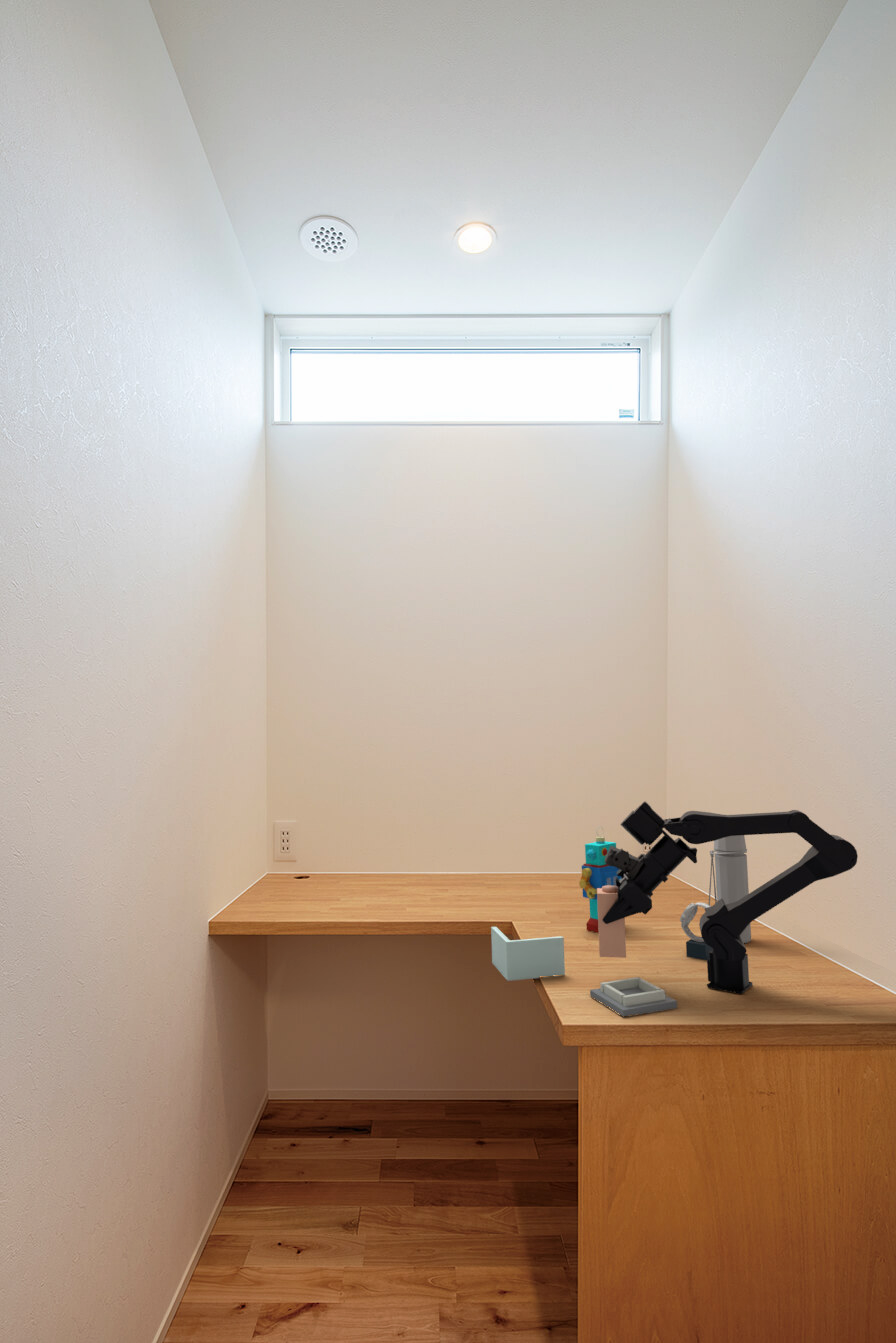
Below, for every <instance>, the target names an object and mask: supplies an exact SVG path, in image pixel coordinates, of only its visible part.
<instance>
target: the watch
mask: <svg viewBox="0 0 896 1343" xmlns="http://www.w3.org/2000/svg"><path fill="white" fill-rule="evenodd" d="M711 906H712V905H711V904H710V905H708V903H705V902H701V901H700V902H695V903H694V902H691V903H689V904H688V905H687V907H686V908H684V910H683V912H682V913H681V916H680V918H679V921H680V927H681V928H682V931H683V932H684V934H685V935H686V936H687V937H688V938H690V939H689V940H687V941H686V942H685V949H686V951H685V952H686V953H685V954H686V957H687V958H692V959H697V960H702V961H707V960H708V959H709V952H710V951H712V950H713V948H712V947H710V946H708V945H707V944H706V943H705V942H704V940H703V938H702V936H697V935H696V934H695V933H693V932H692V931H691V929H690V928H689V925H690V923H691V922H692V920H694V918H695V917H696V914H697V913H698V908H699V907H701V908H703V909H705V908H708V907H711Z"/></svg>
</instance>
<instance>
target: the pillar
mask: <svg viewBox="0 0 896 1343" xmlns="http://www.w3.org/2000/svg"><path fill="white" fill-rule="evenodd" d="M616 899H617V886H612V885H606V886H602V888H597V902H598V930H599V933H598V950H599V953H598V954H599V958H621V959H623V958H624V959H626V958H627V946H626V945H627V944H626V943H627V942H626V941H627V940H626V920H625V918H626V917H625V918H622V919H619V920H617V921H614V922H611V923H608V924H605V923H604V922H603V918H604V916H605V915H606V913H607V912H608V910H609V909H610V908H611V906H612V905H613V903H614V902H615V900H616Z"/></svg>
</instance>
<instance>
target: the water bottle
mask: <svg viewBox="0 0 896 1343" xmlns="http://www.w3.org/2000/svg"><path fill="white" fill-rule="evenodd" d="M747 852H748V848H747V844H746V839H745V835H738V836H729V837H724V838H721V839H718V840H715V841H713V850H709V854H710V875H709V876H710V877H709V888H708V889H709V892H708V902H707V904H708V905H710V906H711V895H712V893H711V891H712V876H713V892H714V904H715V903H716V902H717V901H719V900H720V899H721V898H722V899H723V900H724V902H725V904H729V903H733V902H736V901H738V900H740V899H742V898H743V897H745V896H746V895H748V894H749V893H750V892H749V891H750V890H749V876H748V859H747V858H748V857H747V854H746V853H747ZM714 868H715V869H714ZM740 936H741V938H742V940H743V943H745V944H748V943H750V942H751V941H752V928H751V923H750V924H749V925H748V926H747V927H746V929H745V930H744V931H743V932H742V934H741V935H740Z"/></svg>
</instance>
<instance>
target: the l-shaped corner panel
mask: <svg viewBox="0 0 896 1343" xmlns="http://www.w3.org/2000/svg"><path fill="white" fill-rule="evenodd" d="M490 930H491V931H490V932H491V964H492V965H493V966H494V967H495V968H496V970H498V972H499V973H500V974H501V975H502V976H503V977H504V979H506V981H507V982H508V981H510V982H511V981H522V980H529V979H531V980H532V979H540V978H539V977H540V976H553V975H566V967H565V941H564V936H551V937H536V938H525V939H512V940H510V939H509V938H508V937H507V936H506V935H505V934H504V933H503V932H502V931H501V930H500V929H499V928H498V927H497V926H491V927H490Z"/></svg>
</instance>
